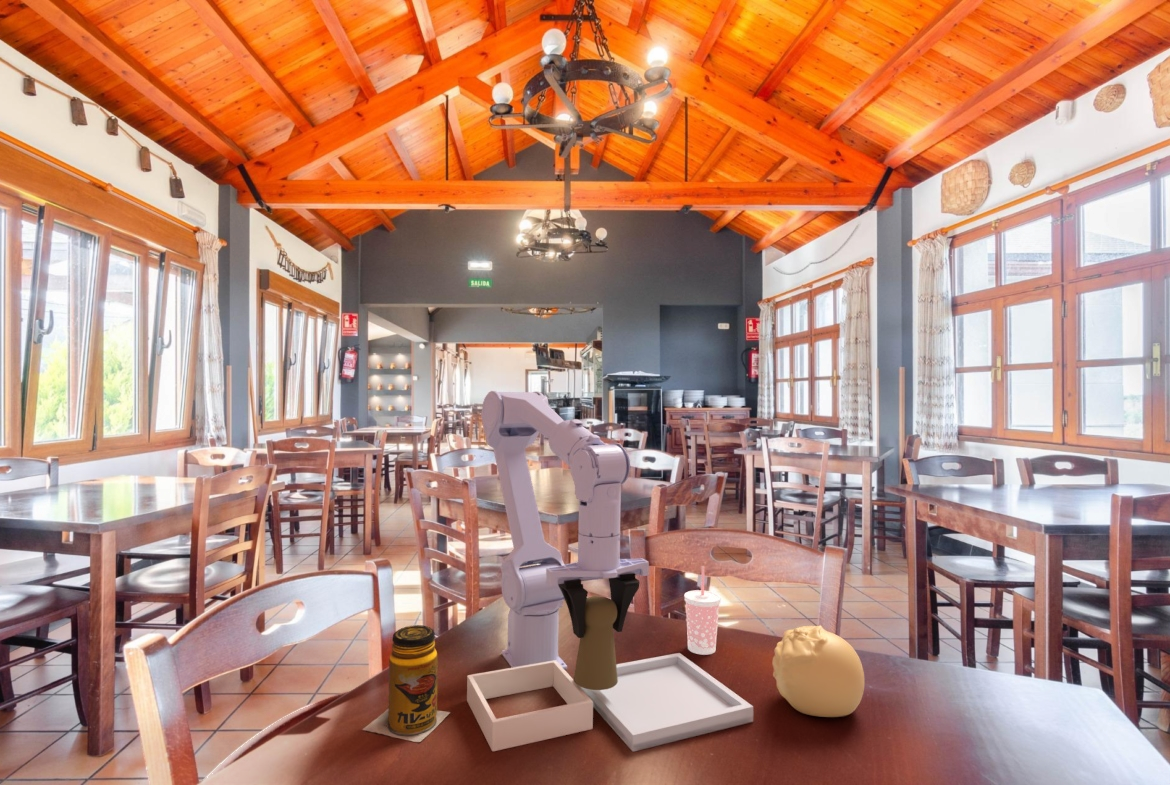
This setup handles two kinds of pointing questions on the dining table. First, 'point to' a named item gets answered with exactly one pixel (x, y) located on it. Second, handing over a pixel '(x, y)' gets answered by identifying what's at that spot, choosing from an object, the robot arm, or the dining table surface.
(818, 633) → the sculpture
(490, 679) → the cream bin
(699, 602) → the beverage cup
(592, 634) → the cork
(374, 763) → the dining table surface
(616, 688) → the light grey tray
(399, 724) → the condiment
